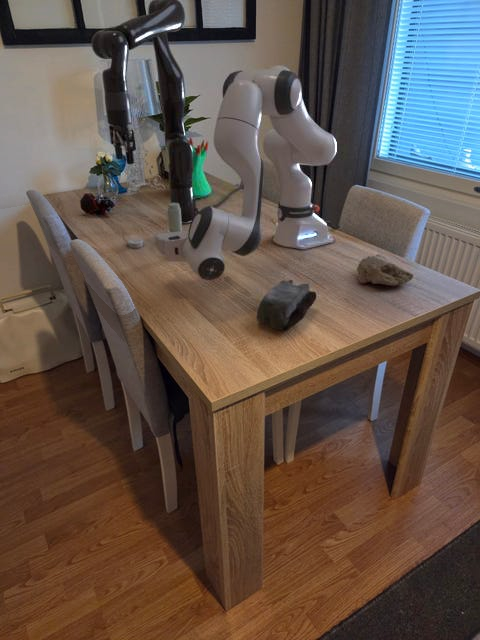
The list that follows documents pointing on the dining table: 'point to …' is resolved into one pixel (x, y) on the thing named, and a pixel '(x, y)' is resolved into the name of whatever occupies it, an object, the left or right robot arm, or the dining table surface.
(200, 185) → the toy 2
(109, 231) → the dining table surface
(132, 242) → the lid
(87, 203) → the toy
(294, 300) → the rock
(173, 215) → the bottle
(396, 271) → the artifact
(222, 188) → the dining table surface
